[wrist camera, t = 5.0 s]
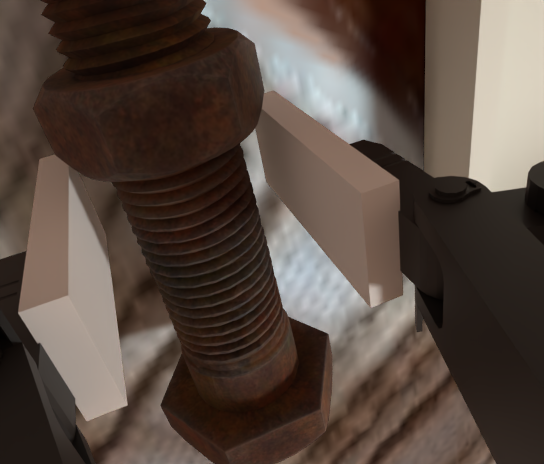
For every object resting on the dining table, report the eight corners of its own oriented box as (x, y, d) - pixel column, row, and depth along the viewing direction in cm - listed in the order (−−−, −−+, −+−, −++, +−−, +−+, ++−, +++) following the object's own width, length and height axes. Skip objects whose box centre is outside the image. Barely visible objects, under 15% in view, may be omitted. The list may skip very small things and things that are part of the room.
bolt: (102, -128, 12) (244, 322, 20) (-128, -99, 9) (148, 414, 17) (289, -209, 8) (370, 381, 16) (5, -203, 5) (276, 511, 13)
